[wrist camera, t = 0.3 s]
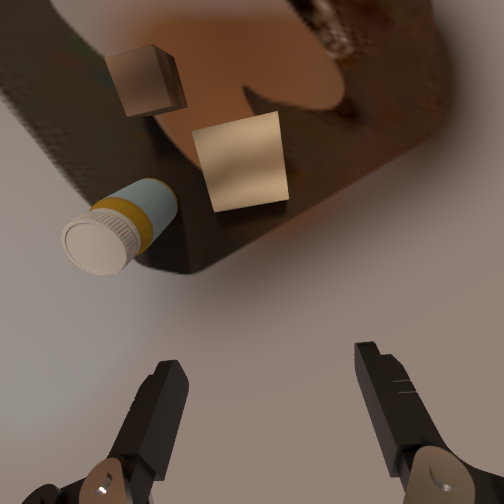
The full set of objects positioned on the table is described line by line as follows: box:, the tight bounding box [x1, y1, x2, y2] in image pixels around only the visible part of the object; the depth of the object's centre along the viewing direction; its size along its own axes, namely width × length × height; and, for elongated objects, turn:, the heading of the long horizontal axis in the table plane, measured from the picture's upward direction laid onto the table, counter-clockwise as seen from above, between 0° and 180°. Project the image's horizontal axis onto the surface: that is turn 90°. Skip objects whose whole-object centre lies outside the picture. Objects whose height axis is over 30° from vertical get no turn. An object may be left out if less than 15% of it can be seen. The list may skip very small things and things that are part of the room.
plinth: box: [191, 111, 289, 212], centre depth 32 cm, size 10×10×4 cm
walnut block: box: [104, 44, 188, 117], centre depth 27 cm, size 5×5×6 cm
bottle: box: [61, 178, 178, 276], centre depth 30 cm, size 7×7×15 cm
